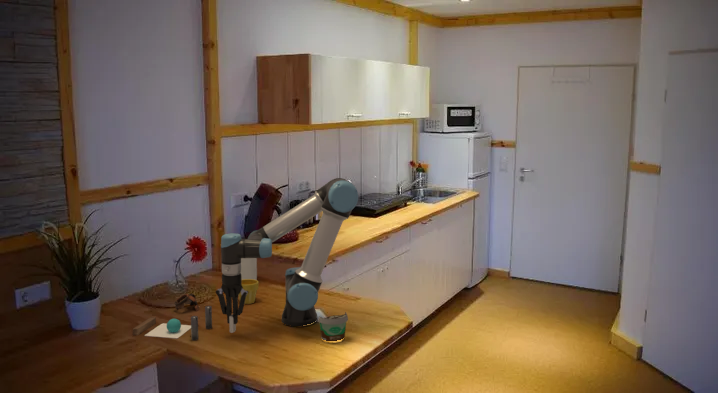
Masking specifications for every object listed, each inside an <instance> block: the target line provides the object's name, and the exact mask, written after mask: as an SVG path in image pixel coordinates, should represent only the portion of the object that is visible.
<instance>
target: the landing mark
mask: <svg viewBox="0 0 718 393" xmlns="http://www.w3.org/2000/svg"><path fill="white" fill-rule="evenodd" d="M189 330H191V324H190V325H188V324H181V328H180V329H179V331H177V332H175V333H172V332H170V331H168V329H167V323H165V322H164V323H161V324H159V325H158V326H156V327H154V329H152V330H150V331H149V332H147V333H146V334H144V337H153V338H154V337H155V338H164V339H165V338H167V339H179V338H180V337H181V336H183V335H184V334H186V332H188V331H189Z"/></svg>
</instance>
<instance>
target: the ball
mask: <svg viewBox="0 0 718 393" xmlns="http://www.w3.org/2000/svg"><path fill="white" fill-rule="evenodd" d="M166 324H167V329H168V331H170V332H172V333H175V332H177V331H179V329H180V328H181V325H182V324H181V320H179V319H177V318H171V319H169V320H168V321H167V323H166Z"/></svg>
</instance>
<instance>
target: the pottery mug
mask: <svg viewBox="0 0 718 393" xmlns="http://www.w3.org/2000/svg"><path fill="white" fill-rule="evenodd" d="M174 305H175V309H176V310H177V311H179V310H180V309H181V308H182V309H185V305H189V306H194V309H195V311H196V312H198V311H199V309H200V307H199V304H198V302H197V300H196V294H194V293H190V294H189V293H185V294H183V295H181V296H179V297H178V298H176V301H175V302H174Z"/></svg>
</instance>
